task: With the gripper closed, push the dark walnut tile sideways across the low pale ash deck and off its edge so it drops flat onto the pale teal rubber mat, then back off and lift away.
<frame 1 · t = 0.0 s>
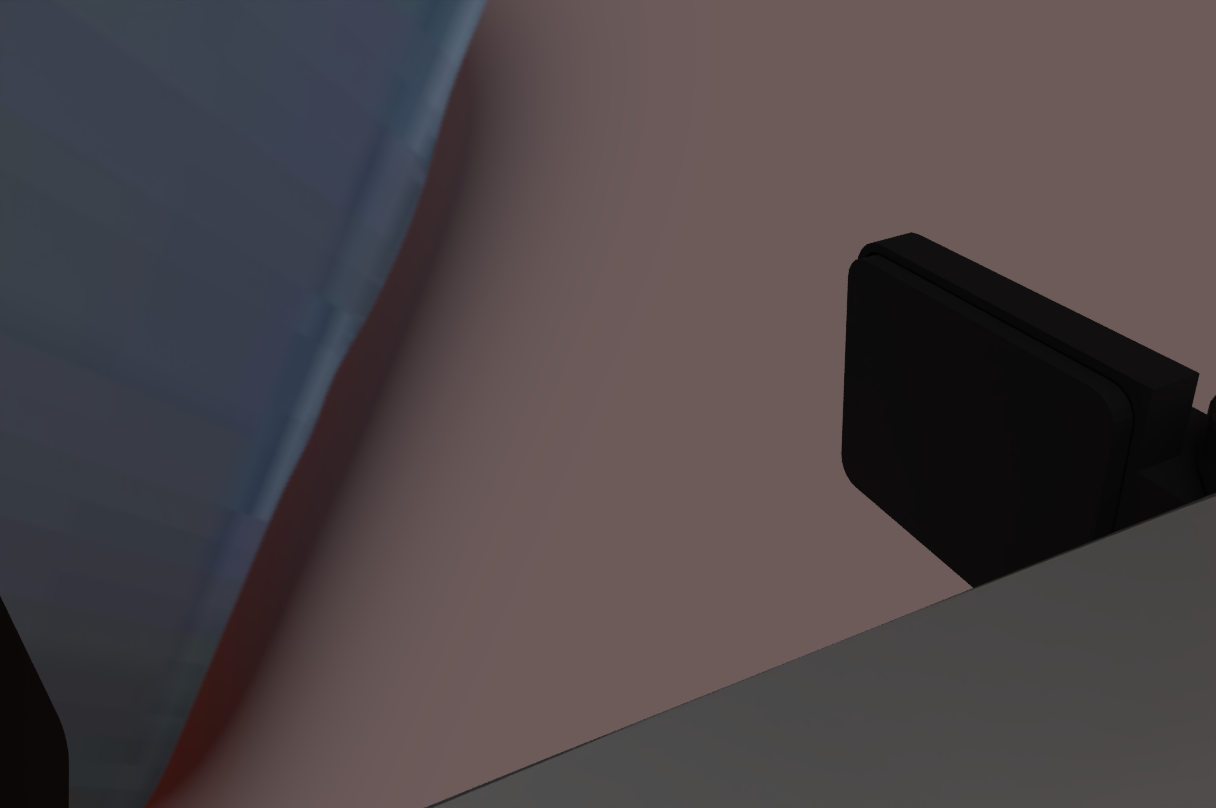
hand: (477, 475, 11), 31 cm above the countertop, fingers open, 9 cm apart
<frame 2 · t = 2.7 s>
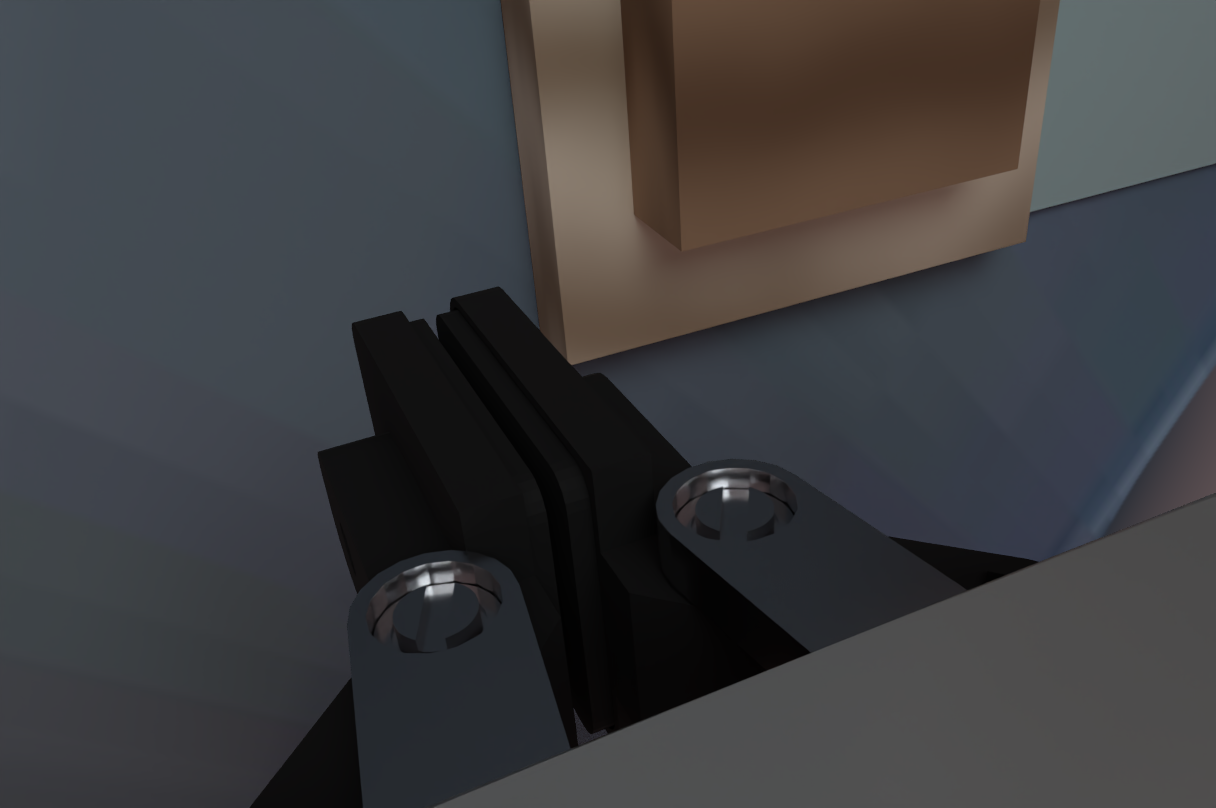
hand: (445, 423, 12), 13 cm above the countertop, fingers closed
walnut tile: (803, 29, 25), point 2 cm above the countertop, touching ash deck
ash deck: (777, 11, 26), on the countertop
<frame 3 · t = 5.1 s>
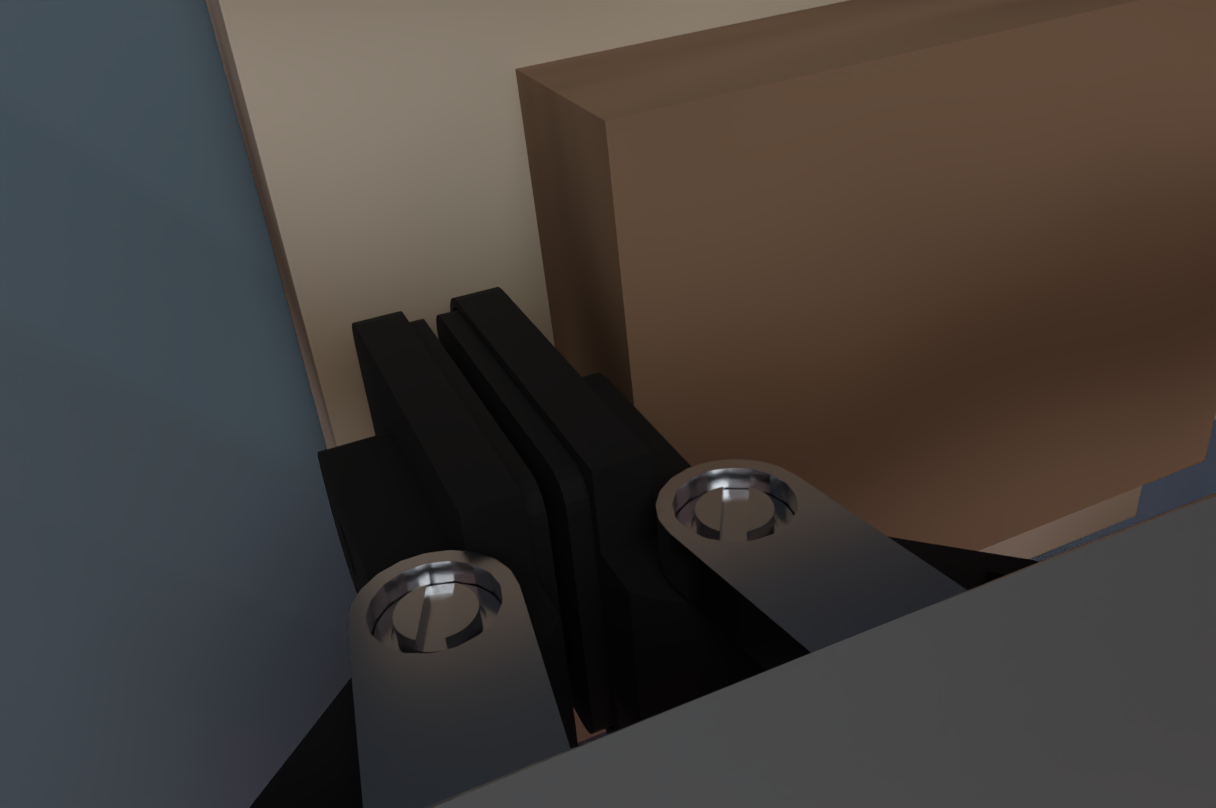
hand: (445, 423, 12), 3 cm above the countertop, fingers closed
walnut tile: (856, 262, 15), point 2 cm above the countertop
ash deck: (756, 222, 16), on the countertop
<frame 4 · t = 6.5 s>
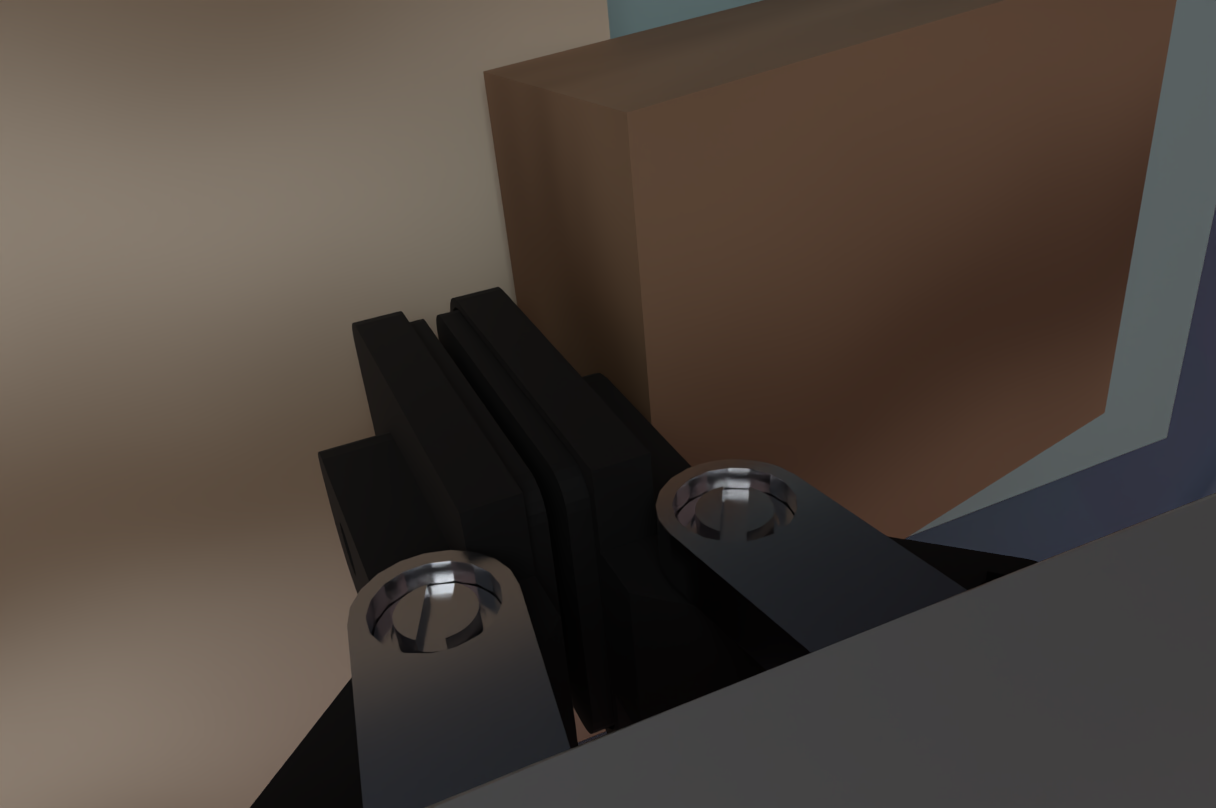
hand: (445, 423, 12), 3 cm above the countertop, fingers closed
walnut tile: (792, 253, 15), point 1 cm above the countertop, tilted 13°, touching gripper
teal mat: (944, 172, 17), on the countertop
ash deck: (59, 405, 13), on the countertop
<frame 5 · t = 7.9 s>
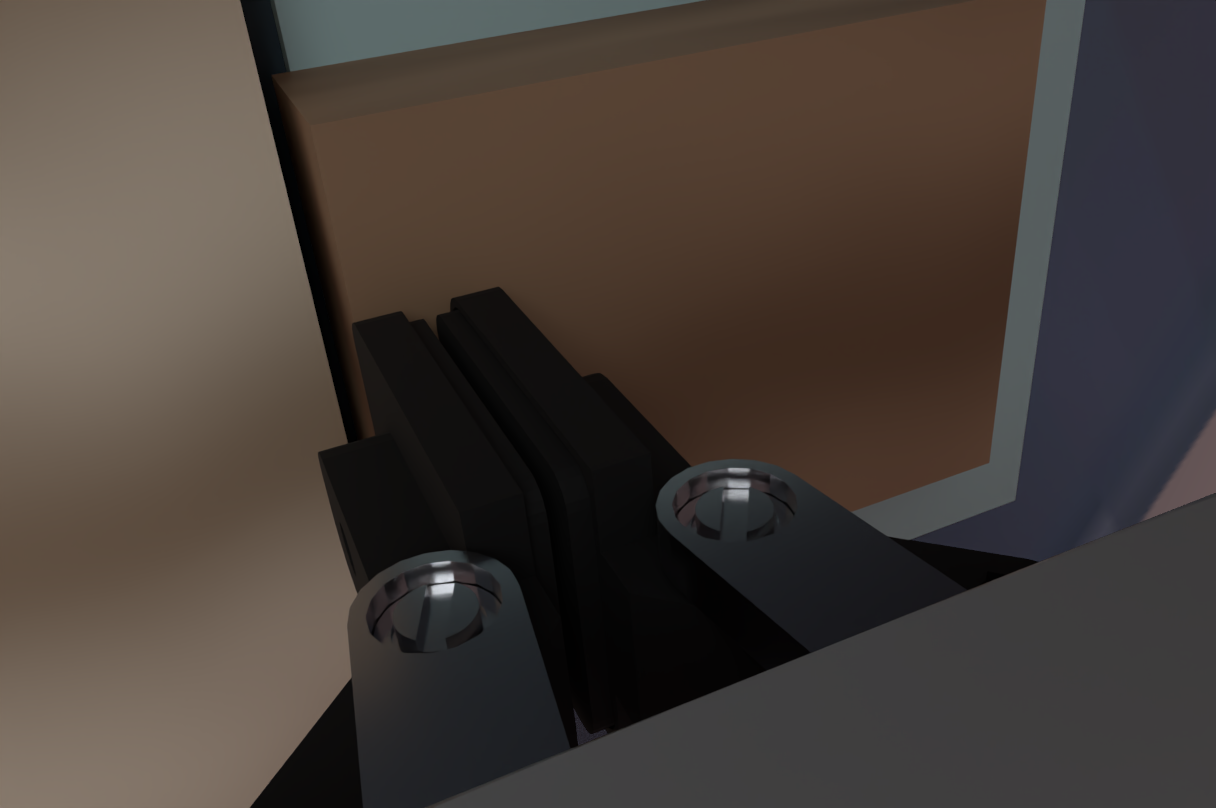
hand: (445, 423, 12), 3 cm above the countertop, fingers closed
walnut tile: (644, 266, 15), resting on teal mat
teal mat: (735, 231, 16), on the countertop
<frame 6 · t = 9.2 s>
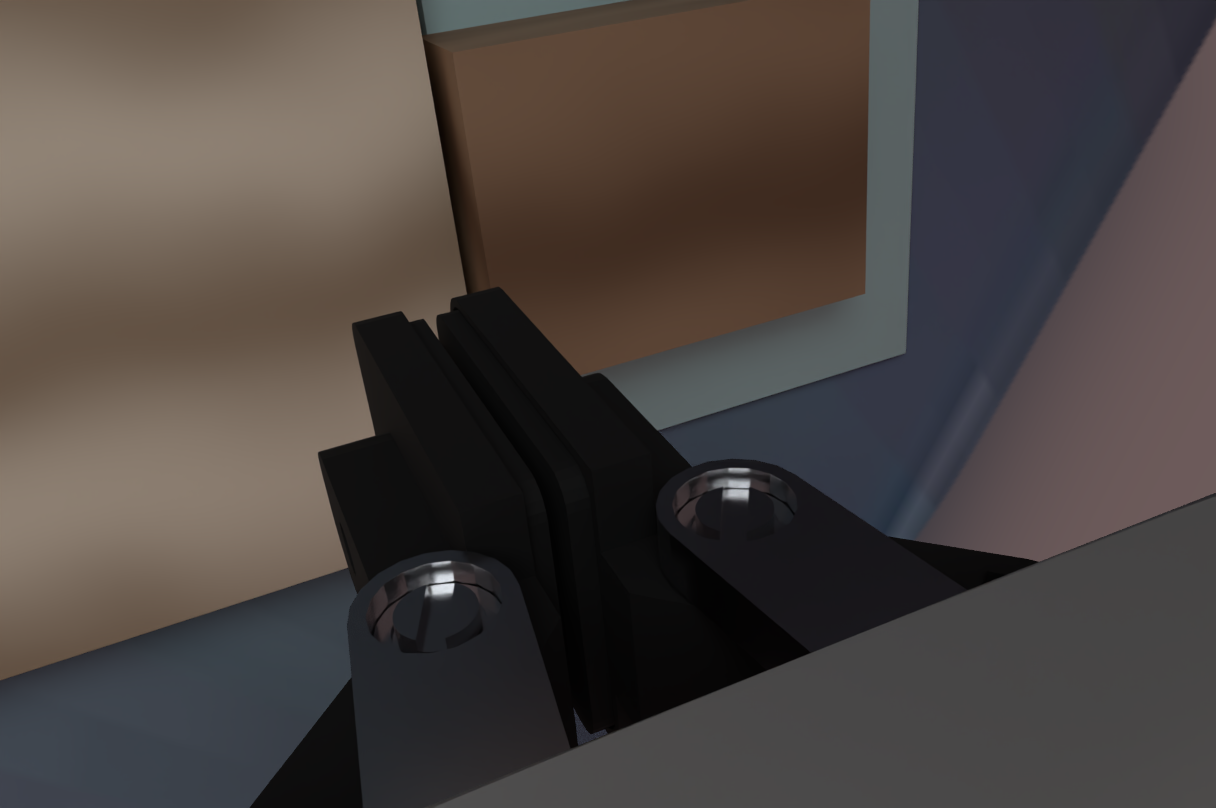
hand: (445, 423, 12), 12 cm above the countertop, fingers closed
walnut tile: (636, 163, 24), resting on teal mat
teal mat: (694, 145, 25), on the countertop
ash deck: (84, 280, 21), on the countertop
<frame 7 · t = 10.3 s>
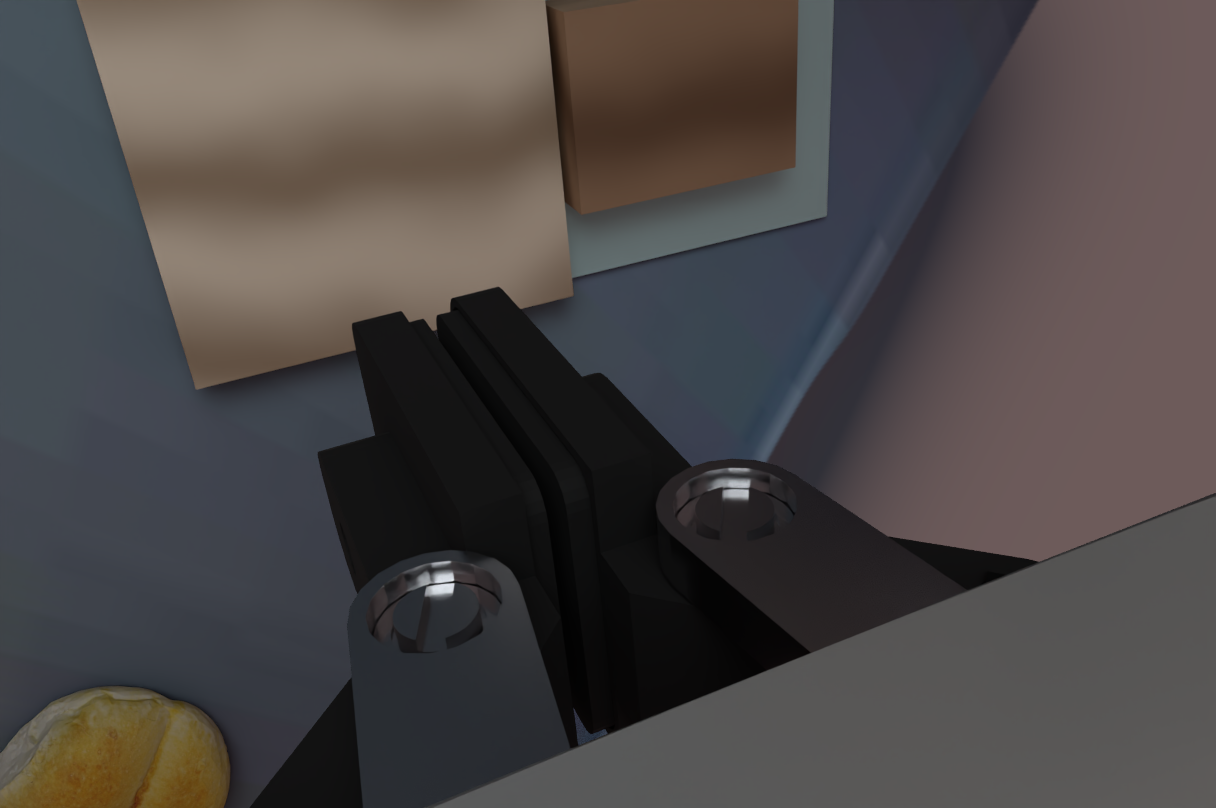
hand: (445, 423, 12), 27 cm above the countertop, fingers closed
walnut tile: (658, 82, 40), resting on teal mat
teal mat: (694, 72, 41), on the countertop
ash deck: (346, 136, 37), on the countertop
bread roll: (111, 757, 45), on the countertop
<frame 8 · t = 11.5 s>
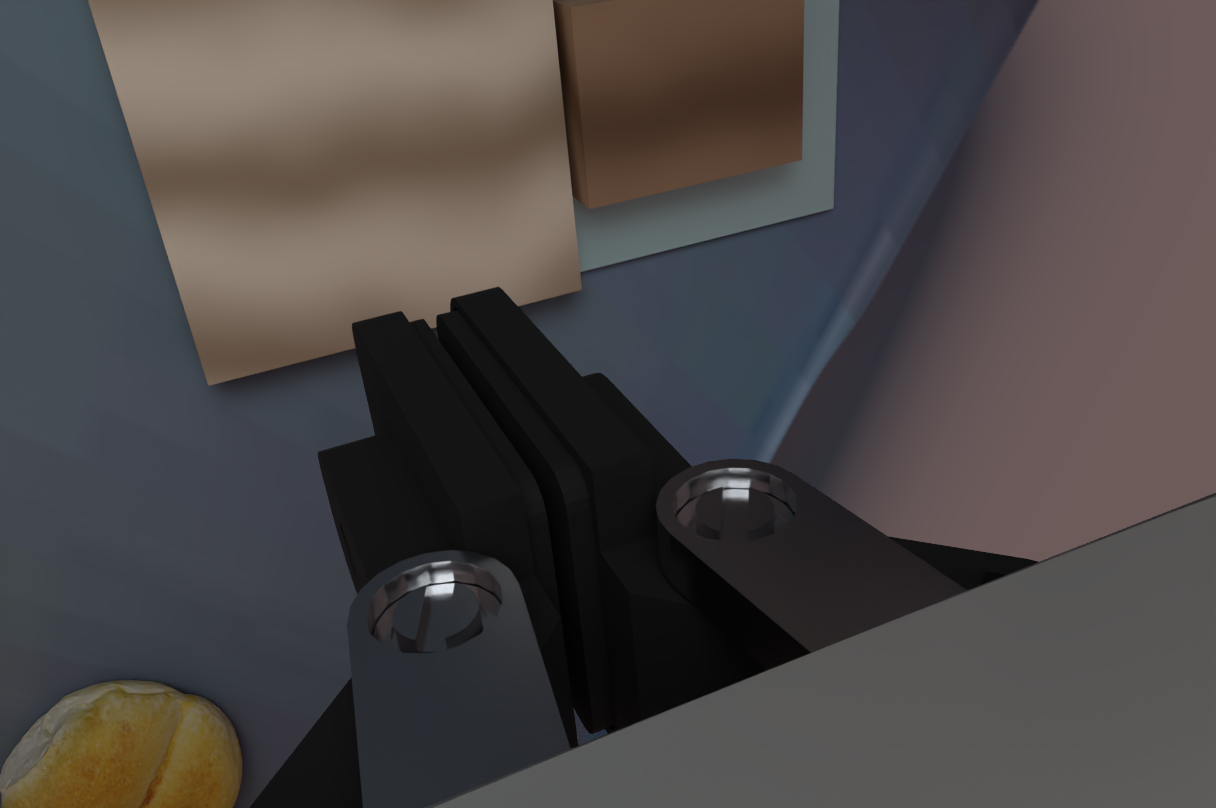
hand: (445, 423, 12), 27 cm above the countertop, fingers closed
walnut tile: (665, 76, 40), resting on teal mat
teal mat: (700, 66, 41), on the countertop
ash deck: (355, 133, 37), on the countertop
bread roll: (124, 750, 45), on the countertop
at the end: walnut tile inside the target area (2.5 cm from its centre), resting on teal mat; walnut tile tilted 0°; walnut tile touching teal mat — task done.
